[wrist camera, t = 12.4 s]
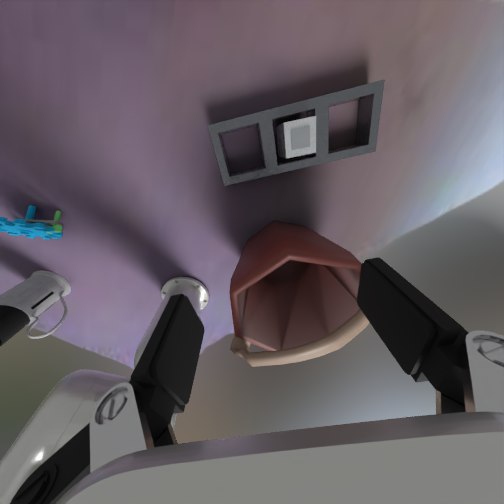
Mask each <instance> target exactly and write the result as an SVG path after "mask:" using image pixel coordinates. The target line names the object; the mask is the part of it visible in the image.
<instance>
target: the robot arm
mask: <svg viewBox="0 0 504 504" xmlns="http://www.w3.org/2000/svg"><path fill="white" fill-rule="evenodd" d="M161 296H162V299H163V301H162V303H161V305H160V307H159V308H158V310H157V312H156V314H155V316H154V318H153V320H152V322H151V323H150V325H149V327H148V329H147V331H146V333H145V335H144V337H143V338H142V340H141V342H140V344H139V346H138V348H137V350H136V353H135V357H134V371H133V373H132V375H131V378H126V377H122V376H118V375H113V374H109V373H105V372H100V371H95V370H88V369H87V370H86V369H85V370H78V371H75V372H72V373H71V374H69V375H67V376H66V377H65V378H63V379H62V380H61V381H60V382H59V383H58V384H57V385H56V386H55V387H54V389H53V390H52V391H51V392H50V393H49V394H48V396H47V397H46V398H45V399H44V401H43V402H42V404H41V405H40V406H39V408H38V409H37V411H36V412H35V413H34V414H33V416H32V417H31V419H30V420H29V421H28V423H27V424H26V426H25V427H24V429H23V430H22V432H21V433H20V434H19V436H18V437H17V439H16V441H15V442H14V443H13V445H12V446H11V447H10V449H9V450H8V452H7V453H6V455H5V456H4V458H3V459H2V460H1V462H0V504H504V336H502V335H499V334H496V333H492V332H487V331H473V332H470V333H468V332H467V331H466V330H465V329H464V328H463V327H462V326H461V325H460V324H458V323H457V322H456V321H455V320H454V319H452V318H451V317H450V316H449V315H448V314H446V313H445V312H444V311H443V310H442V309H440V308H439V307H438V306H437V305H436V304H434V303H433V302H432V301H431V300H430V299H429V298H427V297H426V296H425V295H424V294H423V293H421V292H420V291H419V290H418V289H416V288H415V287H414V286H413V285H412V284H411V283H409V282H408V281H407V280H406V279H404V278H403V277H402V276H401V275H400V274H399V273H397V272H396V271H395V270H394V269H393V268H391V267H390V266H389V265H388V264H387V263H385V262H384V261H383V260H382V259H380V258H373V259H367V260H365V262H364V263H362V265H361V271H360V279H359V287H358V294H357V304H358V306H359V308H360V309H361V311H362V312H363V314H364V315H365V316H366V318H367V319H368V321H369V322H370V324H371V325H372V326H373V328H374V329H375V331H376V332H377V333H378V335H379V336H380V338H381V339H382V341H383V342H384V343H385V345H386V346H387V348H388V349H389V351H390V352H391V353H392V355H393V356H394V357H395V359H396V361H397V362H398V363H399V365H400V366H401V368H402V369H403V370H404V372H405V373H407V374H408V375H411V376H412V377H413V379H414V380H415V382H421V381H429V382H430V383H431V384H432V385H433V387H434V388H435V389H436V415H427V416H415V417H406V418H396V419H388V420H379V421H369V422H360V423H351V424H342V425H333V426H324V427H316V428H307V429H298V430H290V431H281V432H272V433H264V434H256V435H247V436H238V437H230V438H222V439H213V440H205V441H197V442H189V443H182V444H178V442H177V439H176V436H175V433H174V431H173V429H174V425H175V419H176V413H182V412H184V408H185V404H187V403H188V401H189V398H190V394H191V390H192V385H193V380H194V376H195V371H196V367H197V362H198V358H199V353H200V349H201V344H202V340H203V335H204V326H203V324H202V322H201V318H200V317H199V313H200V310H201V309H203V308H204V307H205V306H206V305H207V303H208V300H209V292H208V290H207V288H206V287H205V286H204V285H203V284H202V283H201V282H199V281H197V280H195V279H193V278H189V277H175V278H172V279H170V280H168V281H167V282H166V283H165V284H164V286H163V288H162V290H161Z"/></svg>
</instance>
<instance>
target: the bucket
mask: <svg viewBox="0 0 504 504" xmlns="http://www.w3.org/2000/svg"><path fill="white" fill-rule="evenodd" d="M361 265H362V264H361V263H360V262H359V260H358V259H357V258H356V257H355V256H354V255H353V254H352V253H351V252H349V251H347V250H346V249H344V248H342V247H340V246H339V245H337V244H335V243H333V242H332V241H330V240H328V239H326V238H325V237H323V236H321V235H319V234H318V233H316V232H314V231H312V230H311V229H309V228H307V227H305V226H300V225H295V224H289V223H284V222H278V221H272V222H271V223H269V224H268V225H267V226H266V227H264V228H263V229H262V230H260V231H259V232H258V233H257V234H255V235H254V236H253V237H252V238H250V239H249V240H248V241H247V243H246V246H245V248H244V250H243V253H242V255H241V257H240V260H239V262H238V264H237V266H236V269H235V271H234V273H233V276H232V278H231V284H230V300H231V308H232V316H233V324H234V331H235V335H234V337H233V340H232V344H231V348H230V349H231V351H232V352H233V353H234V354H236V355H239V356H241V357H243V358H244V359H246V361H248V363H250V364H251V366H252V367H254V366H266V365H278V364H287V363H294V362H300V361H304V360H308V359H312V358H315V357H319V356H322V355H325V354H327V353H330V352H333V351H335V350H338V349H340V348H341V347H343V346H344V345H345V344H346V343H348V342H349V341H350V340H352V339H353V338H354V337H355V336H356V335H358V334H359V333H360V332H361V331H362V330H363V329H364V328H365V327H366V326H367V325H368V324H369V323H370V322H369V321H368V319H367V318H366V316H365V315H364V314H363V312H362V311H361V309H360V308H359V306H358V304H357V294H358V287H359V279H360V271H361ZM251 343H252V344H255V345H257V346H259V347H262V348H264V349H266V350H269V351H265V352H254V353H249V347H250V344H251Z"/></svg>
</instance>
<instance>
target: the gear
mask: <svg viewBox="0 0 504 504" xmlns="http://www.w3.org/2000/svg"><path fill="white" fill-rule="evenodd" d="M36 208H37V207H35V206H31V205H29V207H28V210H27V214H26V217H25V219H18V218H15V219H14V222H11V221H7V218H5V217H0V232H8V234H10V235H15V236H18V235H26V237H28V238H36V236H41V237H42V239H51V237H52V238H54V239H60V238H61V237H62V235H63V232H62V227H63V226H62V225H61V224H62V223H61V222H59V219H60V215H61V211H56V213H55V217H54V220H33V219H34V215H35V212H36ZM45 225H51V226H47V227H45Z"/></svg>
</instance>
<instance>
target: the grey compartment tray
mask: <svg viewBox="0 0 504 504" xmlns="http://www.w3.org/2000/svg"><path fill="white" fill-rule="evenodd" d="M384 81H385V80H381V81H377V82H373V83H369V84H365V85H361V86H357V87H354V88H350V89H346V90H342V91H338V92H334V93H330V94H327V95H323V96H319V97H315V98H311V99H307V100H303V101H300V102H296V103H292V104H288V105H284V106H280V107H276V108H273V109H269V110H265V111H261V112H257V113H253V114H249V115H246V116H242V117H238V118H234V119H230V120H226V121H222V122H218V123H215V124H211V125H207V126H208V129H209V133H210V137H211V140H212V144H213V147H214V151H215V155H216V158H217V162H218V165H219V169H220V173H221V176H222V180H223V183H224V186H227V185H231V184H235V183H240V182H244V181H248V180H253V179H257V178H261V177H266V176H270V175H274V174H279V173H283V172H288V171H292V170H296V169H301V168H305V167H309V166H314V165H318V164H322V163H327V162H331V161H336V160H340V159H344V158H349V157H353V156H357V155H362V154H366V153H370V152H375V151H376V143H377V135H378V127H379V120H380V112H381V104H382V96H383V88H384ZM355 100H359V107H358V120H357V133H356V145H352V146H348V147H344V148H339V149H335V150H331V151H328V133H329V107H331V106H335V105H339V104H343V103H347V102H351V101H355ZM303 113H307V118H308V117H313V116H316V153H311V154H309V156H305V157H301V158H297V159H292V160H288V161H284V162H279V163H277V157H276V148H275V140H274V132H273V124H272V121H276V120H280V119H284V118H288V117H292V116H295V115H299V114H303ZM256 125H257V126H258V132H259V138H260V145H261V151H262V157H263V163H264V166H262V167H258V168H254V169H250V170H245V171H241V172H237V173H233V174H231V173H230V169H229V165H228V161H227V157H226V153H225V149H224V145H223V141H222V137H221V134H224V133H228V132H232V131H236V130H240V129H244V128H248V127H252V126H256Z"/></svg>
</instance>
